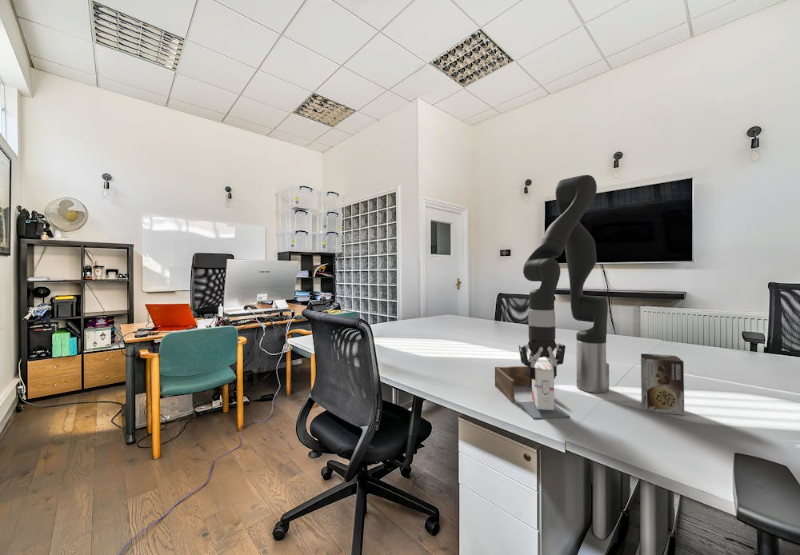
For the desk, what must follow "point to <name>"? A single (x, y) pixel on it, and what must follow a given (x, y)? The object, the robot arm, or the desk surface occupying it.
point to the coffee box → (662, 383)
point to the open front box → (511, 379)
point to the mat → (542, 411)
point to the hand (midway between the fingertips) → (542, 378)
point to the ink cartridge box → (543, 385)
